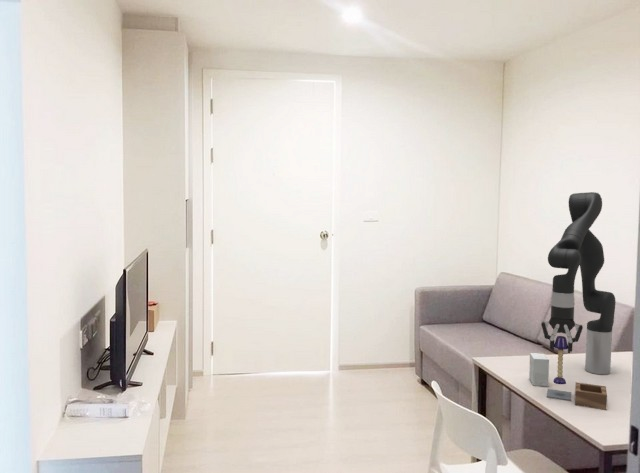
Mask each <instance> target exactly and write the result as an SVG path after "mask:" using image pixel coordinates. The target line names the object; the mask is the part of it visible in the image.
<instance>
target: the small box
mask: <svg viewBox="0 0 640 473" xmlns="http://www.w3.org/2000/svg"><path fill="white" fill-rule="evenodd" d="M549 369H550V359H549V358H548V357H547V355H546V353H538V352H537V353H536V352H533V353H532V352H529V372H528V373H529V374H528V375H529V376H528V377H529V381H530V383H531V384H532V386H535V387H536V386H537V387H538V386H539V387H549V379H550V378H549V374H550V372H549Z"/></svg>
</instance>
